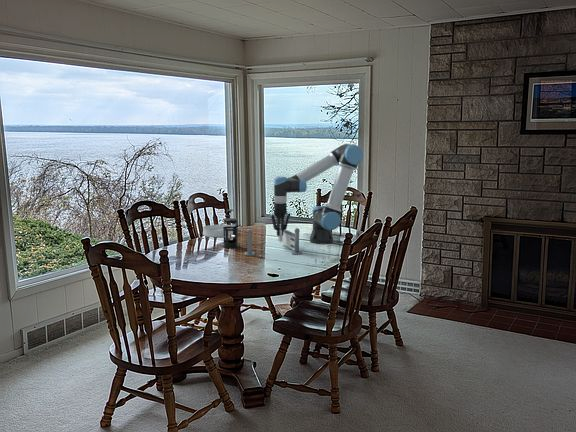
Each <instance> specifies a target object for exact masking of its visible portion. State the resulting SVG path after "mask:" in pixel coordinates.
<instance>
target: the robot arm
mask: <svg viewBox="0 0 576 432" xmlns="http://www.w3.org/2000/svg"><path fill="white" fill-rule="evenodd" d="M363 159H364V151H363V150H362V148H361V146H359V145H358V144H357V145H356V144H353V143H352V144H351V143H350V144H349V143H344V144H342V145H340V146H339V147H337V148H335V149H333V150H332V151H330V152H329V154H328V155H326V156H325V157H323V158H321V159H320V160H317V161H315V162H314V163H313V164H311V165H310V166H308V167H306V168H305V169H303V170H301V171H299V172H297V173H296V174H294V175H292V176H291V177H286V176H275V177H274V180H273V191H274V192H273V194H274V195H273V201H274V203H273V212H272V213H271V214H269V217H270V218H271V222H272V226H273V230H275V231H276V236H277V241H278V242H279V243H280V242H281V241H282V236H283V231H284V230H285V229H286V230H287V227H288V223H289V219H290V216H291V213H289V212H288V211H287V208H288V207H287V206H288V205H287V201H288V200H287V197H288V196H287V194H288V193H305V192H306V191H307V188H308V187H307V186H308V185H307V183H308V182H310V180H312V179H315V178H316V177H317V176H319V175H321V174H323V173H324V172H326V171H328V170H329V169H331V168H334V167H335V166H336V167H337V166H338V167H339V168H338V171H337V173H336V176H335V179H334V182H333V185H332V188H331V190H330V194H329V197H328V200H327V203H325V204H324V205H320V206H319V205H317V206H315V205H314V207H312V231H311V233H310V236H309V243H313V244H317V245H318V244H320V245H323V244H332V243H334V236H333V233H332V231H335V230H336V229H338V228H339V226H340V225H341V222H342V220H341V219H342V218H341V214H342V209H341V207H342V204H343V201H344V198H345V195H346V192H347V190H348V188H349V187H348V186H349V184H350V180H351V178H352V175H353V172H354V171H355V170H357V169H358V168H357V167H358V165H359V164H360V163H361V162H362V161H363Z"/></svg>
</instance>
